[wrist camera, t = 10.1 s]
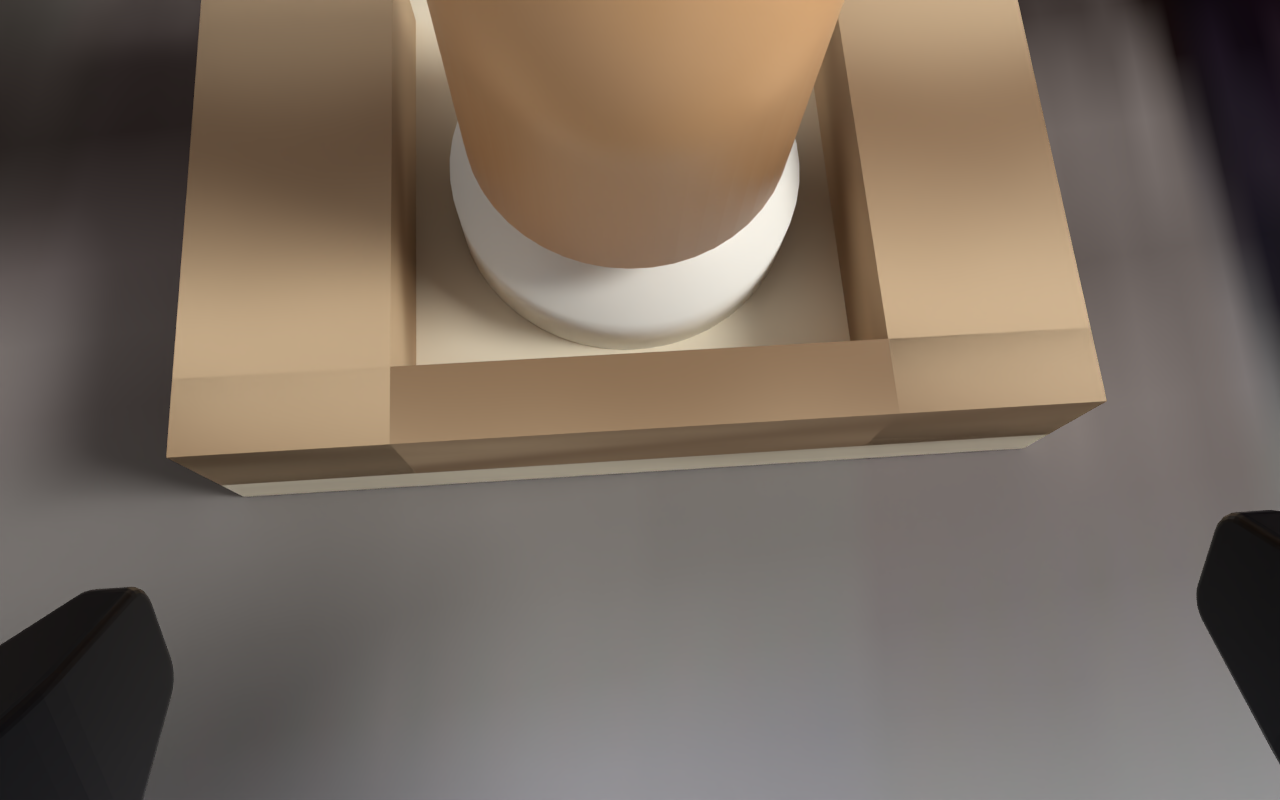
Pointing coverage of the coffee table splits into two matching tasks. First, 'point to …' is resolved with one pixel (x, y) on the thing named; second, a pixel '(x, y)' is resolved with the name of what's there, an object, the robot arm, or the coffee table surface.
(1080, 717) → the coffee table surface
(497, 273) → the bobbin
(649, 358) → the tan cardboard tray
